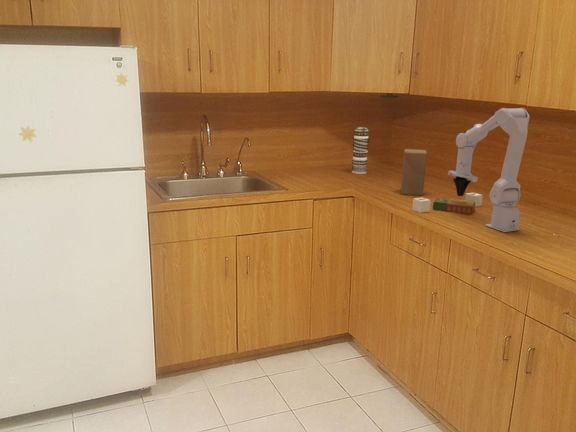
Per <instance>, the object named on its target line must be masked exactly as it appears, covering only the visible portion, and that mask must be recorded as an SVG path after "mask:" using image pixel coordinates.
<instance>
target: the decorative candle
mask: <svg viewBox="0 0 576 432" xmlns="http://www.w3.org/2000/svg"><path fill="white" fill-rule="evenodd" d="M369 143H370V138H369V129H368V128H367V126H365V127H364V126H357V127H355V129H354V135H353V137H352V146H353V147H352V152H353V155H352V161H351V162H352V163H351V164H352V165H351V174H352V173H353V174H356V175H357V174H359V175H360V174H361V175H364V174H366V173H368V172H367V171H368V169H367V168H368V166H367V165H368V157H367V156H368V152H369V151H368V150H369V145H368V144H369Z"/></svg>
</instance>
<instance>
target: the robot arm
mask: <svg viewBox="0 0 576 432" xmlns="http://www.w3.org/2000/svg"><path fill="white" fill-rule="evenodd" d="M530 117H531V116H530V114H529V113H528V111H527V109H526V108H524V107H519V108H506V107H501V108H499V109H498V110H496V111H495V112H494V115H493V116H491V117H489V119H488V120H486V121H485V122H483V123H475V124H474V125H473V127H472V128H470V129H467V130H466V132H465V133H464V132H460V133H458V134H457V136H456V139H455V144H456V147H458V148H457V157H456V167H455V170H448V171H447V175H448V176H451V177H455V178H452V179H453V182H454V185H455V188H456V195H457V196H458V197H462V196H465V195H464V194H465V193H466V190H467V188H468V186H469V185H470V184H471V182H473V183H478V178H479V177H478V176H475V175H474V174H472V173H471V172H472V171H471V170H472V169H471V168H472V160H473V153H474V151H475V148H476V146H477V144H478V142H480V141H481V140H483V139H484V138H486V137H487V136H488V133H489V132H490V131H492V130H494V129H495V128H497V127H500V128H501V129H502V130H503V131H504V132H505V133H507V134H508V136H509V139H508V144H507V148H506V152H505V156H504V161H503V165H502V169H501V174H500V178H498V180H496V181H495V182H494V183H493V186H492V188H491V189H490V191H489V200H490V202H491V204H492V210H491V211H492V212H491V219H490V223H486V224H485V227H488V228H491V229H494V230H497V231H500V232H503V233H509V232H515V231H519V230H520V228H519V225H520V218H521V212H520V210H519V209H518V208H517V207H515V206H516V204H517V203H518V202H519V201H520V199H521V186H522V185H521V184H520V183H519V182H518V181H517V179H518V175H519V171H520V165H521V162H522V158H523V155H524V151H525V145H526V143H527V137H528V126H529V121H530Z"/></svg>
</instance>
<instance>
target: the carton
mask: <svg viewBox="0 0 576 432" xmlns="http://www.w3.org/2000/svg"><path fill="white" fill-rule="evenodd" d="M475 208H476V207H475V202H474V201H466V200H465V199H456V198H445V197H437V196H436V198H435V199H434V201H433V203H432V210H433V211H439V210H441V212H447V213H448V212H449V213H456V214H464V215H473V213H474V212H475V210H476V209H475Z"/></svg>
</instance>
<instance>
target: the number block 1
mask: <svg viewBox="0 0 576 432" xmlns="http://www.w3.org/2000/svg"><path fill="white" fill-rule="evenodd" d="M431 203H432V200H431V199H428V198H425V197H415V198H413V199H412V211H414V212H417V213H419V214H422V213H430V211H431Z"/></svg>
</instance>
